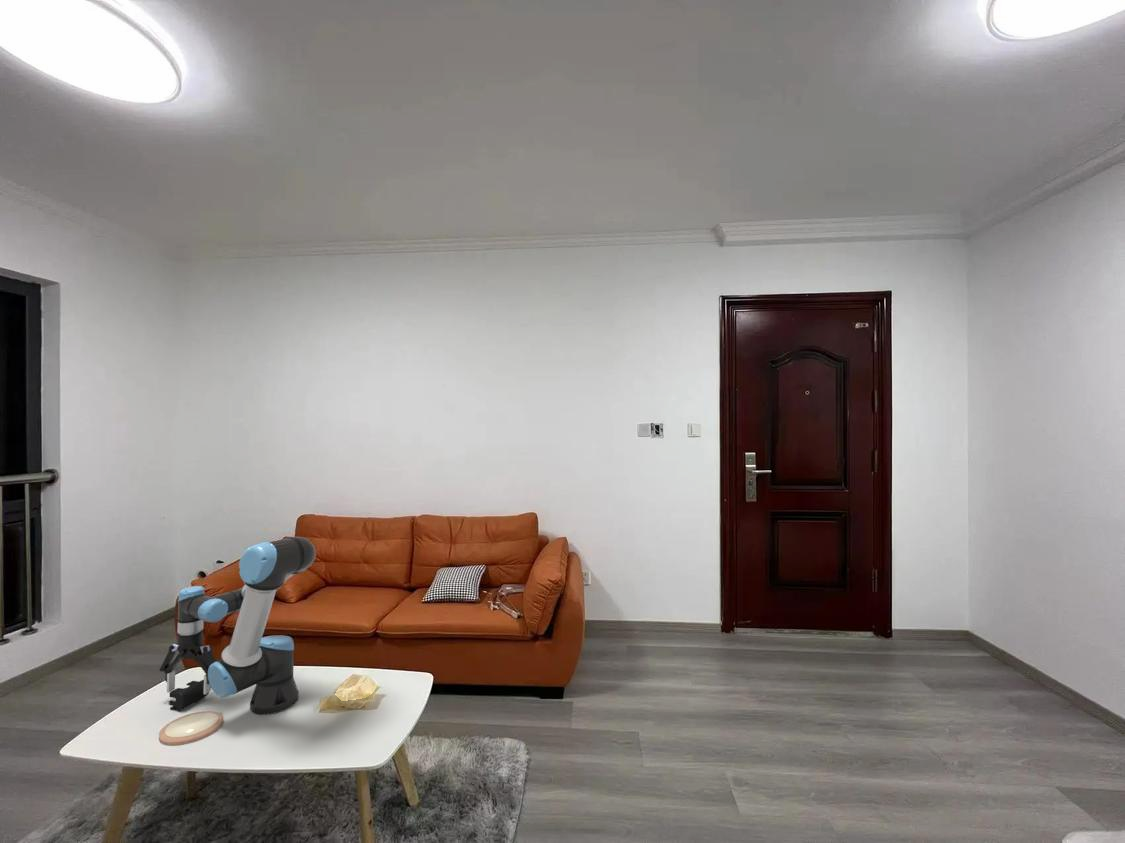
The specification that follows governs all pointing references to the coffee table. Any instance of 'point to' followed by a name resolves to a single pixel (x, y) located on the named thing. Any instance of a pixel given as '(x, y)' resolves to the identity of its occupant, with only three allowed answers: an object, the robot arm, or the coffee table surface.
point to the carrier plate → (191, 728)
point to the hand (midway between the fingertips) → (189, 691)
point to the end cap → (187, 695)
